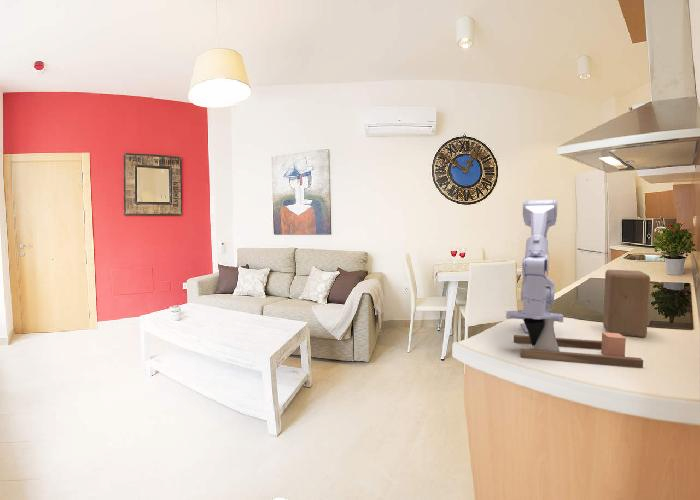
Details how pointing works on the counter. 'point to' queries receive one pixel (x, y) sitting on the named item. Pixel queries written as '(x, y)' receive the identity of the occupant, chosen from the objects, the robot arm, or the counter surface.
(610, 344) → the block
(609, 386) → the counter surface
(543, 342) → the flask
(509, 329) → the counter surface
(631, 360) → the strip
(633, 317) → the wooden block
